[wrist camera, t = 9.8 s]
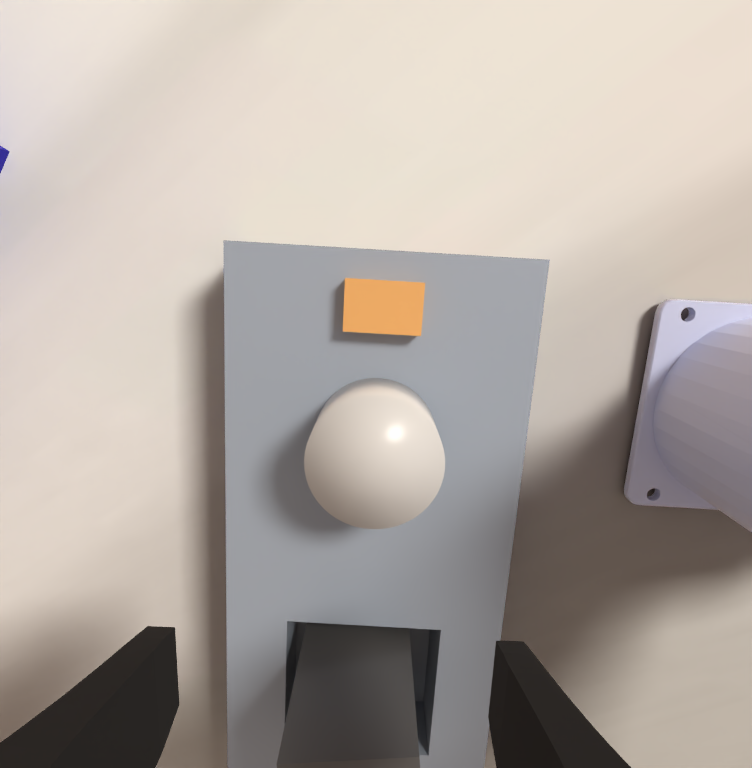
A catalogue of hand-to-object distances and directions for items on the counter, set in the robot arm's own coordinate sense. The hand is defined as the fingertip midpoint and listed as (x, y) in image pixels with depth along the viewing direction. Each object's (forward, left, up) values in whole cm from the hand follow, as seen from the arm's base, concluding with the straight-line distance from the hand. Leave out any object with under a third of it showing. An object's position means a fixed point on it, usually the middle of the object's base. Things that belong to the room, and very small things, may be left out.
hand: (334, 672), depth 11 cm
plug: (-1, +7, -9) cm, 11 cm away
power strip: (-1, +2, -9) cm, 10 cm away
